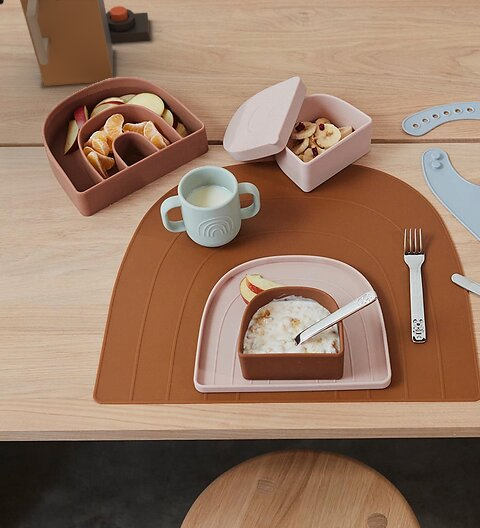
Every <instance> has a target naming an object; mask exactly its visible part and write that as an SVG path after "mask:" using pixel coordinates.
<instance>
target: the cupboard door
mask: <svg viewBox="0 0 480 528" xmlns="http://www.w3.org/2000/svg"><path fill="white" fill-rule="evenodd" d="M19 2H20V5H21V8H22V13H23V16H24V19H25V23H26V26H27V30H28V33H29V37H30V40H31V44H32V47H33V50H34V54H35V58H36V61H37V65H38V68H39V72H40V75H41V79H42V82H43V85H44V87H50V86H61V85H62V86H63V85H64V86H65V85H76V84H87V83H89V84H91V83H99V82H98V81H102V80H105V79H108V78H112V77H113V78H114V74H113V75H112V70H111V65H110V60H109V54H108V49H107V44H106V39H105V34H104V29H103V24H102V19H101V13H100V8H99V3H98V0H19Z"/></svg>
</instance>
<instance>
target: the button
mask: <svg viewBox="0 0 480 528" xmlns="http://www.w3.org/2000/svg"><path fill="white" fill-rule="evenodd" d="M126 9H127V8H126V7H125V6H121V5H119V6H118V5H117V6H114V7H112V8H110V10H109V11H110V15H111V19H112V21H116V22H120V21H124V20H127V18H128V15H127V10H126Z"/></svg>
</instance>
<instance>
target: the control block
mask: <svg viewBox="0 0 480 528" xmlns="http://www.w3.org/2000/svg"><path fill="white" fill-rule="evenodd" d="M126 10H127V15H128V18H127V20H124V21H120V22H116V21H112V19H111V15H110V10H108V11H106V16H107V21H108V26H109V32H110V37H111V42H112V44H121V43H122V44H123V43H135V42H150V40H151V38H150V22H149V14H148V12H135V13H134V12H133V11H132V10H131V9H127V8H126Z"/></svg>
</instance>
